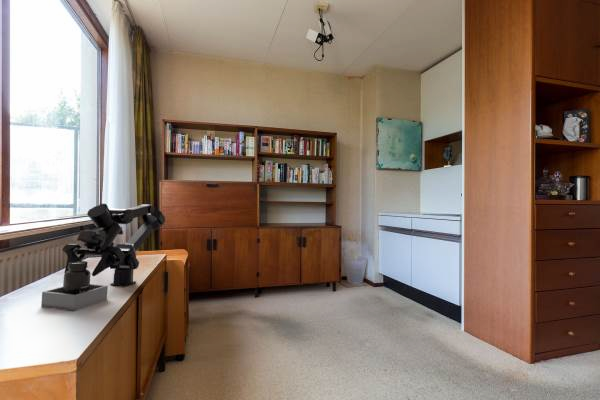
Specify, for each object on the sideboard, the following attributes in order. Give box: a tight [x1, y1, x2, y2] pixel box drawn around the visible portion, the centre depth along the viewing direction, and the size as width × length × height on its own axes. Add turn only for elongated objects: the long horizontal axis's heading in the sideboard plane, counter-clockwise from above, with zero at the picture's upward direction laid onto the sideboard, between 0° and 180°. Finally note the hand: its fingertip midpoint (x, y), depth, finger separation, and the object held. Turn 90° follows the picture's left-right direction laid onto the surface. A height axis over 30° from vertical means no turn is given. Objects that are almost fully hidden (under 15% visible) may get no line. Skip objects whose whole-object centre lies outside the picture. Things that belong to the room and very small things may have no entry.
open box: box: [40, 283, 108, 312], centre depth 94 cm, size 12×12×4 cm
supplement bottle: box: [62, 260, 91, 295], centre depth 95 cm, size 7×7×12 cm
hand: (79, 274), depth 95 cm, fingers open, 9 cm apart
